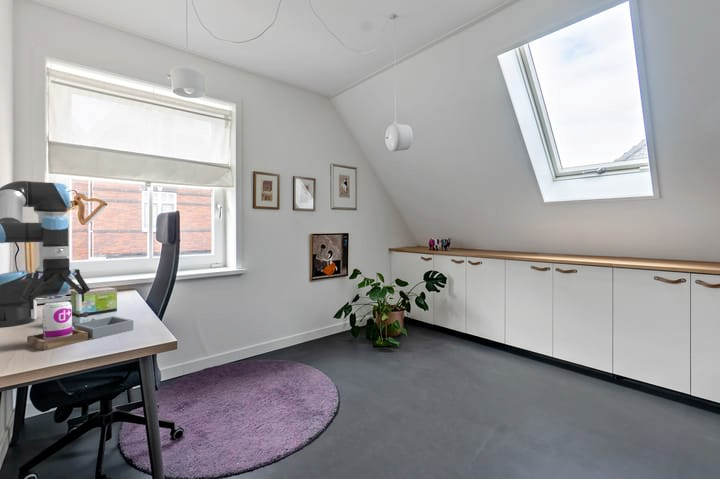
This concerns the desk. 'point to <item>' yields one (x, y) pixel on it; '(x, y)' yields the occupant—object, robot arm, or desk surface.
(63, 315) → the supplement can
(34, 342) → the tray
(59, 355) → the desk surface
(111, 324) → the tray
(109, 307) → the tea box
